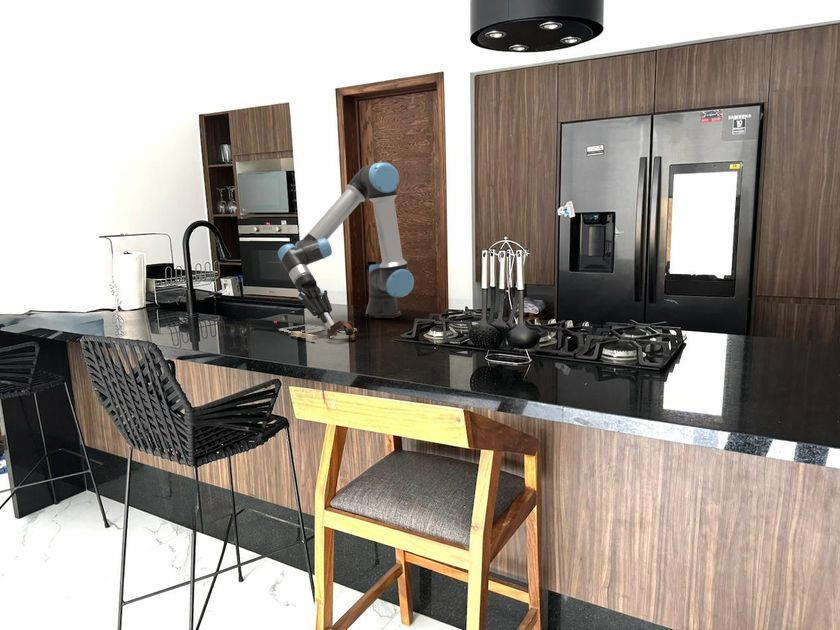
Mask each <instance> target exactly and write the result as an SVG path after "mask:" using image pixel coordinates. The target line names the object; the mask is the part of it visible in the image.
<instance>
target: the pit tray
mask: <svg viewBox="0 0 840 630" xmlns="http://www.w3.org/2000/svg"><path fill="white" fill-rule="evenodd" d="M307 325H310V326H315V327H319V328H324V329H325V326H320V325H315V324H309V323H308V324H307V323H306V324H301V325H295V326H288V327H282V328H278V329H277V331H278V330H279V331H284V332H288V333H291V331H289V330H287V329H293V328H298V327H302V326H307ZM319 328H313V329H307V330H301V331H297V332H304V331H309V330H314V329H319Z"/></svg>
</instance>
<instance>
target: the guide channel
mask: <svg viewBox="0 0 840 630" xmlns="http://www.w3.org/2000/svg"><path fill="white" fill-rule="evenodd" d="M353 331H354V332H355V331H357V332H358V328H355V327H354V330H353ZM291 336H296V337H301V338H306V339H312V340H317V341H318V335H317V334H313V333H310V334H307V333H302V332H297V331H291V335H290V337H291Z"/></svg>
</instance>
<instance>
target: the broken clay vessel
mask: <svg viewBox="0 0 840 630" xmlns="http://www.w3.org/2000/svg"><path fill="white" fill-rule="evenodd" d="M354 328H355V326H354V323H353V322H352V321H350V320H348V321H345V320H344V319H341V320H338V321H337V322H334V324H333V325H332V326H330V329H329V328H327V329H326V331H325V332H327V338H329V337H330V336H333V337H334V336H335V337H337V335H338V334H337V333H338V332H337V330H338V331H345V333H346V334H345V335H351V336H349V338H350V339H351V338H354V337H356V338H357V335H356V336H355V334H354V331H353V330H354Z"/></svg>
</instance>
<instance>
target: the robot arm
mask: <svg viewBox="0 0 840 630" xmlns="http://www.w3.org/2000/svg"><path fill="white" fill-rule="evenodd" d="M399 184H400V174H399V172H398V170H397V168H396V167H395V166H393V165H392V164H391V163H389V162H376V163H371V164H367V165H365V166H363V167H362V168H360V169H359V171H357V172H356V173H355V175H354V176H353V178H352V179H351V180H350V181H349V183H348V184H346V189H345V191H344V192H343V193H342V194H341V195H340V196H339V197H338V198H337V200H336V201H335V202H334V203H333V205H331V206H330V208H329V209H328V210H327V211H326V212H325V213H324V214H323V215H322V217H321V218H320V219H319V220H318V221H317V223H316V224H315V225H314V226H313V227H312V228H311V229H310V230H309V232H308V233H307V234H306V235H305V236H304V237H303V238H302V239H300V240H298V241H296V243H295V245H294V244H293V243H286V244H284V245H282V246H281V247H280V248H279V249H278V251H277V257H278V258H279V260H280V262H281V264H282V266H283V267H284V269H285V271H286V272H287V274H288V275H289V278H290V279H291V281H292V283H293V284H294V286H295V288H296V289H297V292H299V293H298V295H297V296H296V299H297V300H298V301H300V302H301V303H302V305H304V307H305V308H306V309H307V310H308V312H309V313H311V315H312V316H313V317H316V318H317V319H320V320H321V322H322V324H324V325H325V327H326V328H327V329H328V328H329V329H330V326H332V325H333V324H335V322H334V320H333V316H332V315H331V312H332V311H333V308H332V305H331V302H330V299H329V296H328V291H327V290H325V289H324V290H321V287H320V286H318V284H317V281H316V278H315V277H314V276H313V274H312V272H311V270H310V269H309V267H308V265H310V264H313V263H316V262H318V261H321V260H323V259H324V260H325V259H326V258H328V257H331V256H332V253H333V250H332V245H331V244H330V242H329V240H328V239H329V238H330V237H331V236H332V235H333V234H334V233H335V231H336V230H338V228H339V227H340V226H341V225H342V223H344V221H345V220H346V219H347V218H348V217H349V215H351V214H352V212H353V211H354V210H355V209H356V208H357V206H359V204H360V203H362V202H363V203H364V202H365V201H366V200H367V199H368V200H369V201H370V202H372V204H373V211H374V212H373V213H374V217H375V218H374V219H375V224H376V230H377V231H376V232H377V236H378V243H379V244H378V245H379V248H380V249H379V250H380V255H381V263H376V264H371V265H370V266H369V267H368V286H369V287H368V289H369V290H368V291H369V300H368V304H367V307H366V311H365V315H366V314H369V315H395V314H399V313H400V314H401V309H400V307H399V302H398V300H397V298H403V297H406V296H408V295H409V294H410V293H411V292H412V290H413V288H414V285H415V278H414V276H413V274H412V273H411V271H410V270H409V267H408V266H409V265H408V261H406V259H404V258H403V251H402V245H401V244H402V243H401V236H400V231H399V223H398V218H397V210H396V203H395V199H396V198H397V196H398V190H397V187H398V186H399Z"/></svg>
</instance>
